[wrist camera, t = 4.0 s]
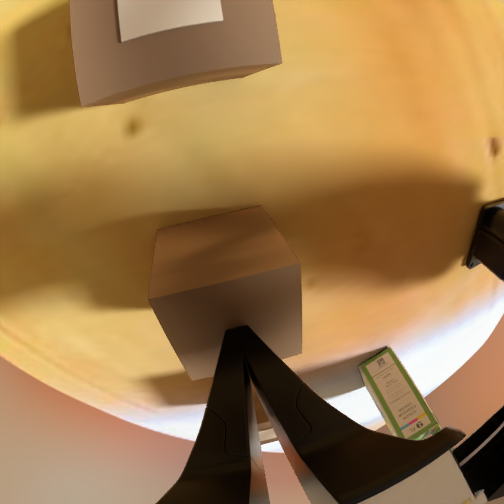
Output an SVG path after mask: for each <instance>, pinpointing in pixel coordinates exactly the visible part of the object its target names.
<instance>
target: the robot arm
mask: <svg viewBox="0 0 504 504" xmlns="http://www.w3.org/2000/svg"><path fill="white" fill-rule="evenodd" d="M480 263H482V264H483V265H484V266H485V267H487V268H488V269H489V270H490V271H491V272H492V273H493V274H495V275H496V276H497V277H498V278H499V279H500V280H502V281H503V282H504V200H503V201H500V202H497V203H493V204H490V205H486V206H484V207H483V208H482V211H481V214H480V219H479V223H478V227H477V231H476V234H475V238H474V242H473V245H472V248H471V252H470V255H469V258H468V261H467V264H466V267H467V268H469V269H471V268H473V267H475V266H477V265H479V264H480ZM237 331H238V332H237ZM238 335H239V336H238ZM241 346H242V347H241ZM244 357H245V358H244ZM246 364H247V365H246ZM248 371H249V372H248ZM249 375H250V376H249ZM250 378H251V380H250ZM251 381H252V384H253V386H254V388H255V390H256V393H257V395H258V397H259V399H260V402H261V404H262V406H263V408H264V410H265V413H266V415H267V417H268V419H269V421H270V423H271V425H272V427H273V430H274V432H275V434H276V436H277V438H278V440H279V442H280V444H281V446H282V448H283V450H284V452H285V454H286V456H287V458H288V460H289V462H290V464H291V466H292V468H293V470H294V472H295V474H296V476H297V478H298V480H299V482H300V483H301V486H302V487H303V489H304V491H305V493H306V495H307V497H308V499H309V500H310V502H311V504H485V503H486V502H488V501H491V500H494V499H497V498H500V497H503V496H504V405H503V406H502V407H501V408H500V409H499V410H497V411H496V412H495V413H494V414H493V415H492V416H491V417H490V418H489V419H488V420H487V421H486V422H485V423H483V424H482V425H481V426H480V427H479V428H478V429H477V430H476V431H475V432H474V433H472V434H471V435H470V436H469V437H468V438H467V439H465V440H464V441H463V442H462V443H460V444H459V445H458V446H457V447H456V448H454V449H453V450H452V451H451V448H452V447H453V446H455V445H456V444H457V443H458V442H459V441H461V440H462V439H463V438H464V437H465V436H466V434H465V433H464V432H463V431H461V430H459V429H456V428H454V427H452V426H449V425H448V426H446V427H444V428H443V429H441V430H440V431H438V432H437V433H435V434H434V435H433V436H431V437H429V438H427V439H424V440H411V439H406V438H401V437H397V436H392V435H388V434H384V433H380V432H376V431H373V430H370V429H367V428H365V427H363V426H361V425H360V424H358V423H356V422H355V421H353V420H352V419H350V418H349V417H347V416H346V415H344V414H343V413H341V412H340V411H338V410H337V409H336V408H334V407H333V406H331V405H330V404H329V403H327V402H326V401H325V400H323V399H322V398H321V397H320V396H318V395H317V394H316V393H315V392H314V391H313V390H312V389H311V388H310V387H309V386H308V385H306V384H305V383H304V382H303V381H302V380H301V379H300V378H299V377H298V376H297V375H296V374H295V373H294V372H293V371H292V370H291V369H290V368H289V367H288V366H287V365H286V364H285V363H284V362H283V361H282V360H281V359H280V358H279V357H278V356H277V355H276V354H275V353H274V352H273V351H272V350H271V349H270V348H269V347H268V346H267V345H266V343H265V342H264V341H263V340H262V339H261V338H260V337H259V336H258V335H257V334H256V333H255V332H254V331H253V330H252V329H251V328H250V327H249V326H248V325H243V326H239V327H237V329H236V328H231V329H227V330H226V331H225V333H224V337H223V341H222V345H221V349H220V353H219V357H218V361H217V365H216V369H215V373H214V377H213V381H212V385H211V389H210V393H209V397H208V401H207V405H206V406H207V407H206V409H205V413H204V417H203V420H202V424H201V427H200V430H199V433H198V436H197V439H196V441H195V444H194V446H193V449H192V451H191V454H190V456H189V458H188V461H187V463H186V466H185V468H184V470H183V472H182V474H181V476H180V477H179V479H178V480H177V482H176V483H175V484H174V485H173V486H172V487H171V488H170V489H169V490H168V491H167V493H166V494H165V495H164V496H163V497H162V498H161V499H160V500H159V501H158V502H157V503H156V504H270V501H269V495H268V489H267V483H266V478H265V471H264V465H263V458H262V452H261V445H260V439H259V432H258V426H257V419H256V412H255V406H254V399H253V392H252V385H251Z"/></svg>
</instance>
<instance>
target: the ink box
mask: <svg viewBox="0 0 504 504" xmlns="http://www.w3.org/2000/svg"><path fill="white" fill-rule="evenodd" d="M358 368H359V371H360V373H361V376H362V379H363V381H364V384H365V386H366V388H367V390H368V392H369V393H370V395H371V397H372V399H373V400H374V402H375V404H376V406H377V408H378V409H379V411H380V413H381V415H382V417H383V419H384V420H385V422H386V424H387V426H388V428H389V429H390V431H391V433H392V435H393V436H397V437H401V438H406V439H411V440H422V439H424V438H425V437H426V436H428V435H430V434H432V435H434V434H435V433H437V432H438V431H440V430H441V429H442V428H441V426H440V424H439V421H438V419H437V418H436V416H435V414H434V413H433V412H432V411H431V409H430V408H429V406H428V404H427V402H426V401H425V399H424V397H423V396H422V394H421V393H420V391H419V389H418V388H417V386H416V385H415V383H414V381H413V380H412V378H411V377H410V375H409V374H408V372H407V370H406V369H405V367H404V366H403V364H402V363H401V361H400V360H399V358H398V357H397V355H396V354H395V352H394V351H393V349H392V348H391V347H388V348H387V349H385V350H384V351H382V352H381V353H379V354H378V355H376V356H374V357H372V358H371V359H369V360H367V361H365V362H364V363H362V364H361V365H359V367H358ZM453 449H454V448H453V447H452V448H451V451H452V450H453Z"/></svg>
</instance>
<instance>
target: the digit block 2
mask: <svg viewBox="0 0 504 504" xmlns="http://www.w3.org/2000/svg"><path fill="white" fill-rule="evenodd" d="M248 372H249V371H248ZM249 376H250V375H249ZM250 380H251V378H250ZM251 385H252V392H253V399H254V406H255V412H256V419H257V426H258V432H259V439H260V445H262V444H266V443H270V442H274V441H277V440H278V438H277V436H276V434H275V432H274V430H273V427H272V425H271V423H270V421H269V419H268V417H267V415H266V413H265V410H264V408H263V406H262V404H261V402H260V399H259V397H258V395H257V393H256V390H255V388H254V386H253V384H252V381H251Z"/></svg>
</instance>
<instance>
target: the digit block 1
mask: <svg viewBox="0 0 504 504" xmlns="http://www.w3.org/2000/svg"><path fill="white" fill-rule="evenodd" d="M70 25H71V39H72V49H73V58H74V66H75V73H76V80H77V86H78V92H79V98H80V103H81V107H86V106H95V105H107V104H122V103H126V102H130V101H133V100H136V99H139V98H143V97H146V96H150V95H154V94H158V93H161V92H165V91H170V90H174V89H178V88H183V87H188V86H193V85H198V84H203V83H209V82H215V81H221V80H228V79H235V78H243V77H246V76H248V75H251V74H254V73H256V72H259V71H262V70H264V69H267V68H270V67H273V66H276V65H279V64H282V58H281V51H280V44H279V37H278V30H277V24H276V18H275V12H274V6H273V1H272V0H70Z"/></svg>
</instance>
